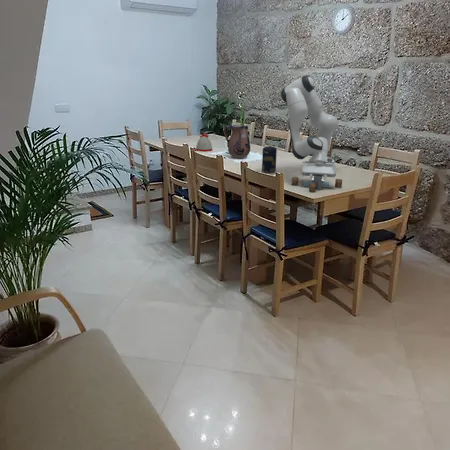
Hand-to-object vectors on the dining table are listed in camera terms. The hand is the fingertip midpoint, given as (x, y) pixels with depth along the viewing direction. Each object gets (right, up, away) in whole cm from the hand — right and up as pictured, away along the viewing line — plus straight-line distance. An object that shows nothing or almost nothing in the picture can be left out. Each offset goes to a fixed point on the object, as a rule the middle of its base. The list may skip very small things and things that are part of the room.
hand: (317, 181), depth 252 cm
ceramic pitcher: (-45, +28, +87) cm, 102 cm away
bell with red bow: (-73, +39, +117) cm, 143 cm away
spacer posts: (0, -4, +3) cm, 5 cm away
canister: (-25, +11, +42) cm, 50 cm away
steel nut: (0, -4, +2) cm, 5 cm away
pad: (+2, -1, +11) cm, 12 cm away
